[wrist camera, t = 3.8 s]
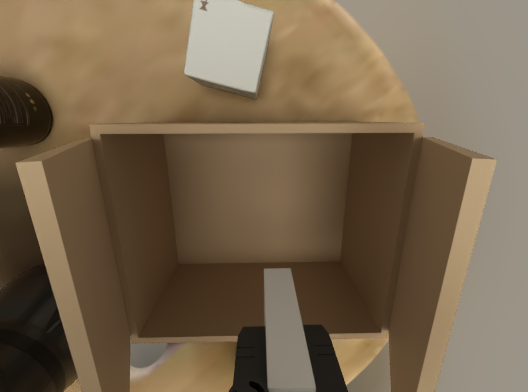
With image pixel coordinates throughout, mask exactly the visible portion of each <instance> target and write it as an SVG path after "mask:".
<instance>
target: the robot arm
mask: <svg viewBox="0 0 528 392" xmlns="http://www.w3.org/2000/svg"><path fill="white" fill-rule="evenodd" d="M77 378H78V376H77V372H76V369H75V365H74V362H73V358H72V355H71V352H70V348H69V345H68V341H67V338H66V335H65V331H64V328H63V324H62V321H61V317H60V314H59V311H58V307H57V304H56V300H55V297H54V293H53V290H52V287H51V283H50V280H49V276H48V273H47V270H46V266H45V265H43V266H38V267H35V268H32V269H30V270H28V271H26V272H24V273H23V274H21V275H20V276H18V277H17V278H15V279H14V280H12V281H11V282H9V283H8V284H7V285H6V286H4V287H3V288H2V289H1V290H0V392H64V390H65V389H66V388H67V387H68V386H70V385H71V384H72V383H73V382H74V381H75V380H76V379H77ZM229 392H348V390H347V387H346V384H345V381H344V378H343V375H342V372H341V369H340V366H339V363H338V360H337V357H336V354H335V351H334V348H333V344H332V341H331V338H330V335H329V333H328V332H327V331H326V330H325V328H324V327H323V326H322V325H321V324H319V325H302V320H301V315H300V311H299V306H298V301H297V297H296V292H295V287H294V282H293V278H292V273H291V268H275V269H264V326H250V327H243V328H242V330H241V332H240V333H239V335H238V339H237V350H236V360H235V370H234V381H233V386H232V387H231V388H230V390H229Z"/></svg>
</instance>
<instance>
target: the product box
mask: <svg viewBox="0 0 528 392" xmlns="http://www.w3.org/2000/svg"><path fill="white" fill-rule="evenodd" d="M273 16H274V12H273V11H270V10H267V9H263V8H260V7H256V6H253V5H249V4H246V3H243V2H241V1H238V0H193V7H192V15H191V23H190V30H189V38H188V46H187V53H186V61H185V69H184V74H185V75H186V76H188V77H190V78H192V79H193V80H195V81H196V82H198V83H199V84H201V85H203V86H206V87H212V88H216V89H220V90H224V91H228V92H231V93H235V94H238V95H242V96H245V97H248V98H251V99H254V100H256V99H257V95H258V90H259V86H260V81H261V76H262V72H263V67H264V62H265V58H266V53H267V48H268V43H269V38H270V33H271V27H272V21H273Z"/></svg>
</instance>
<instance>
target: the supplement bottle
mask: <svg viewBox="0 0 528 392" xmlns="http://www.w3.org/2000/svg"><path fill="white" fill-rule="evenodd" d="M50 127H51V113H50V110H49V107H48V105H47V103H46V101H45V100H44V98H43V97H42V96H41V94H40V93H39V92H38V91H37V90H35V89H34V88H33V87H31V86H30V85H28V84H27V83H25V82H23V81H20V80H17V79H13V78H8V77H2V76H0V149H1V148H9V147H18V146H25V145H31V144H35V143H37V142H39V141H41V140H42V139H43V138H45V136H46V135H47V134H48V132H49V130H50Z"/></svg>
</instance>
